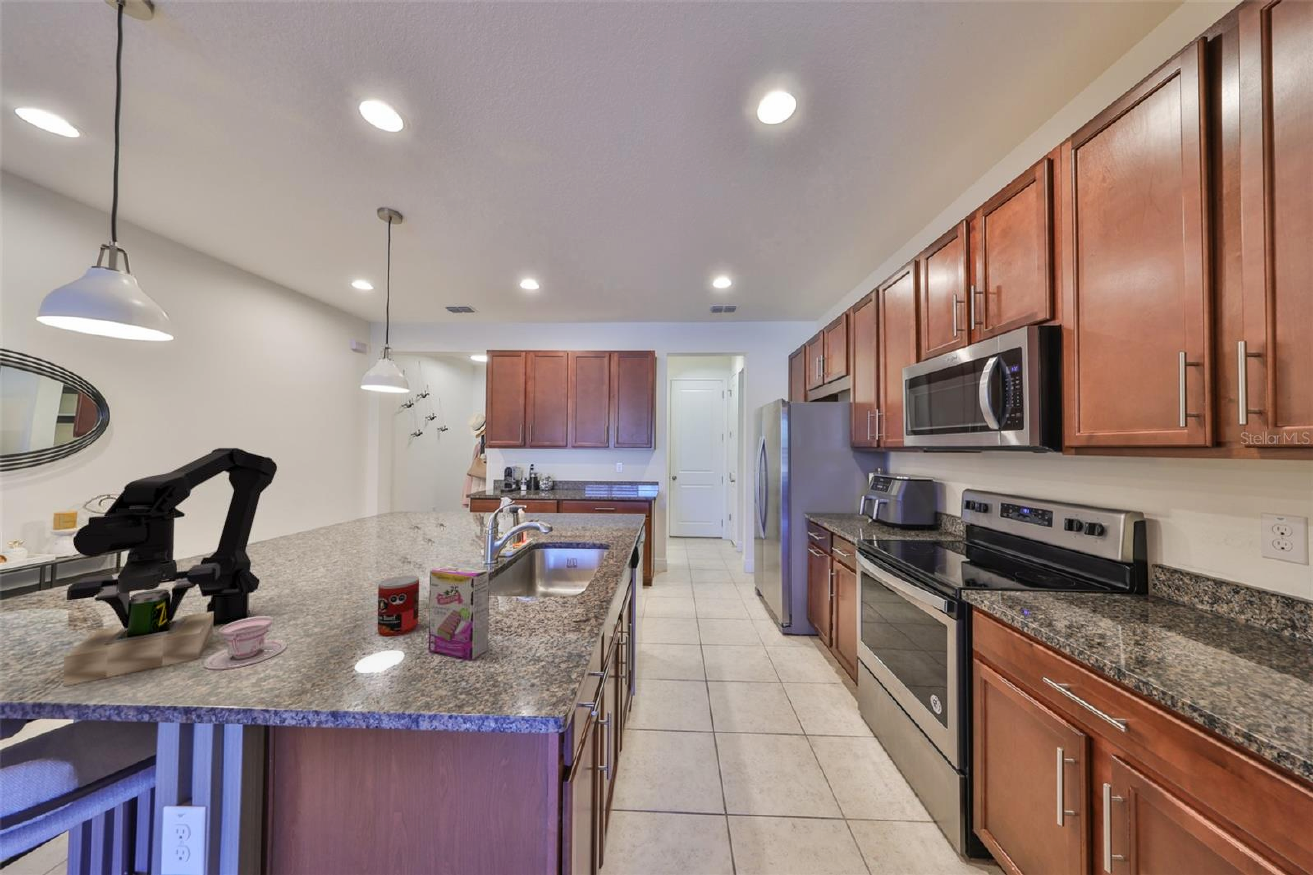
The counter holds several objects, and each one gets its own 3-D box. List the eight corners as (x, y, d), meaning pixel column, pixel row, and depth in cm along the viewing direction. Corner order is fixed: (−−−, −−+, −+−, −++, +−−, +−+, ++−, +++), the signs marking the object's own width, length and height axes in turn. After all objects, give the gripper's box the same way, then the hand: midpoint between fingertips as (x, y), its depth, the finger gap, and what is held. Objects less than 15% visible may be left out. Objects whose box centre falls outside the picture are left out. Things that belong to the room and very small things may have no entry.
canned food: (369, 633, 95) (370, 583, 95) (402, 620, 102) (403, 573, 103) (393, 639, 92) (394, 587, 92) (425, 625, 99) (426, 577, 100)
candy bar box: (426, 653, 86) (428, 570, 86) (446, 642, 90) (447, 564, 91) (471, 662, 82) (472, 575, 83) (489, 651, 87) (490, 569, 87)
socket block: (213, 634, 94) (213, 609, 94) (198, 658, 83) (199, 631, 83) (97, 655, 84) (98, 628, 84) (63, 686, 73) (64, 655, 73)
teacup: (224, 648, 88) (225, 617, 88) (296, 638, 93) (297, 609, 93) (187, 676, 77) (188, 641, 77) (271, 664, 82) (272, 631, 82)
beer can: (120, 664, 80) (122, 600, 80) (133, 653, 85) (136, 591, 85) (162, 657, 83) (164, 594, 83) (173, 646, 88) (175, 587, 88)
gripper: (53, 559, 72) (49, 653, 72) (211, 544, 84) (208, 625, 83) (82, 547, 81) (79, 631, 81) (221, 535, 93) (219, 608, 92)
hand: (149, 624), depth 84 cm, fingers closed on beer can, 5 cm apart
